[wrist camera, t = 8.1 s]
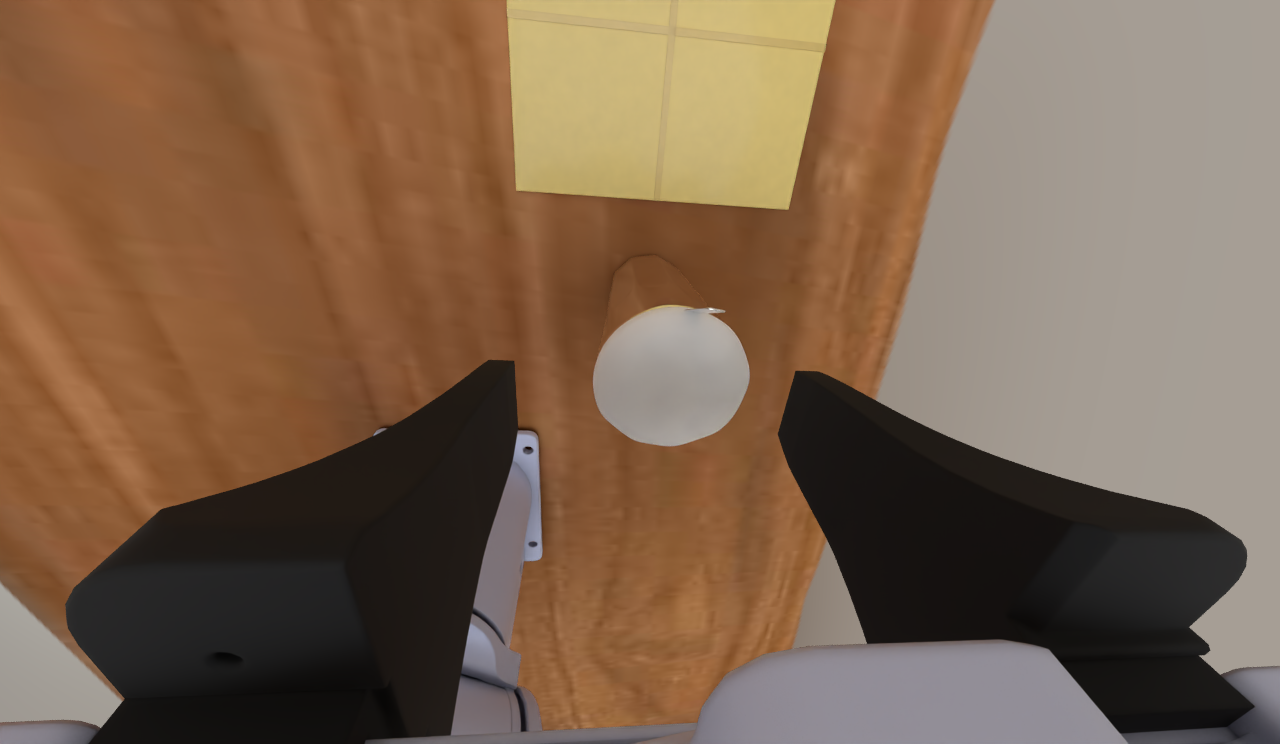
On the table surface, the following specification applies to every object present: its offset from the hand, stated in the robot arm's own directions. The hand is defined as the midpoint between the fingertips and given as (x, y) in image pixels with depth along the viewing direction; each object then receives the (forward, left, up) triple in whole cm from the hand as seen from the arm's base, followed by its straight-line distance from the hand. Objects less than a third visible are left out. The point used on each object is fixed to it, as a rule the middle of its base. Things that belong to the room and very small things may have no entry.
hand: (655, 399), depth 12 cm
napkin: (+9, -1, -10) cm, 13 cm away
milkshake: (0, -1, -10) cm, 10 cm away
